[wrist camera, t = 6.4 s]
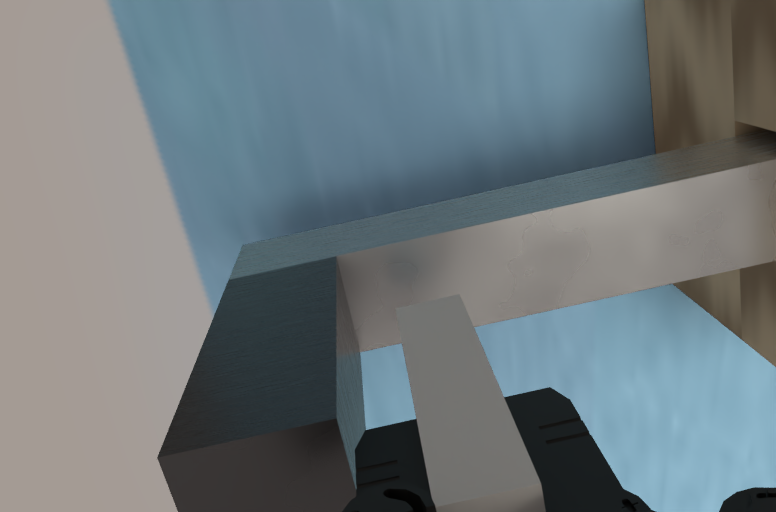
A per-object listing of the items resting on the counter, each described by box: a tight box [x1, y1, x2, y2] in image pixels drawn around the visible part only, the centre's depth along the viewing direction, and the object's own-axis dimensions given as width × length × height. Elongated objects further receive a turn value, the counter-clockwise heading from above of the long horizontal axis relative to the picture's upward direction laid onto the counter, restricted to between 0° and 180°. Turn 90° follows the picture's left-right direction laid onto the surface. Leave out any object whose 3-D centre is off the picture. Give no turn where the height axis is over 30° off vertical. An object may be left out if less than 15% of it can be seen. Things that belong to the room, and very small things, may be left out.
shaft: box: [158, 129, 776, 512], centre depth 17 cm, size 3×25×11 cm, turn 102°
